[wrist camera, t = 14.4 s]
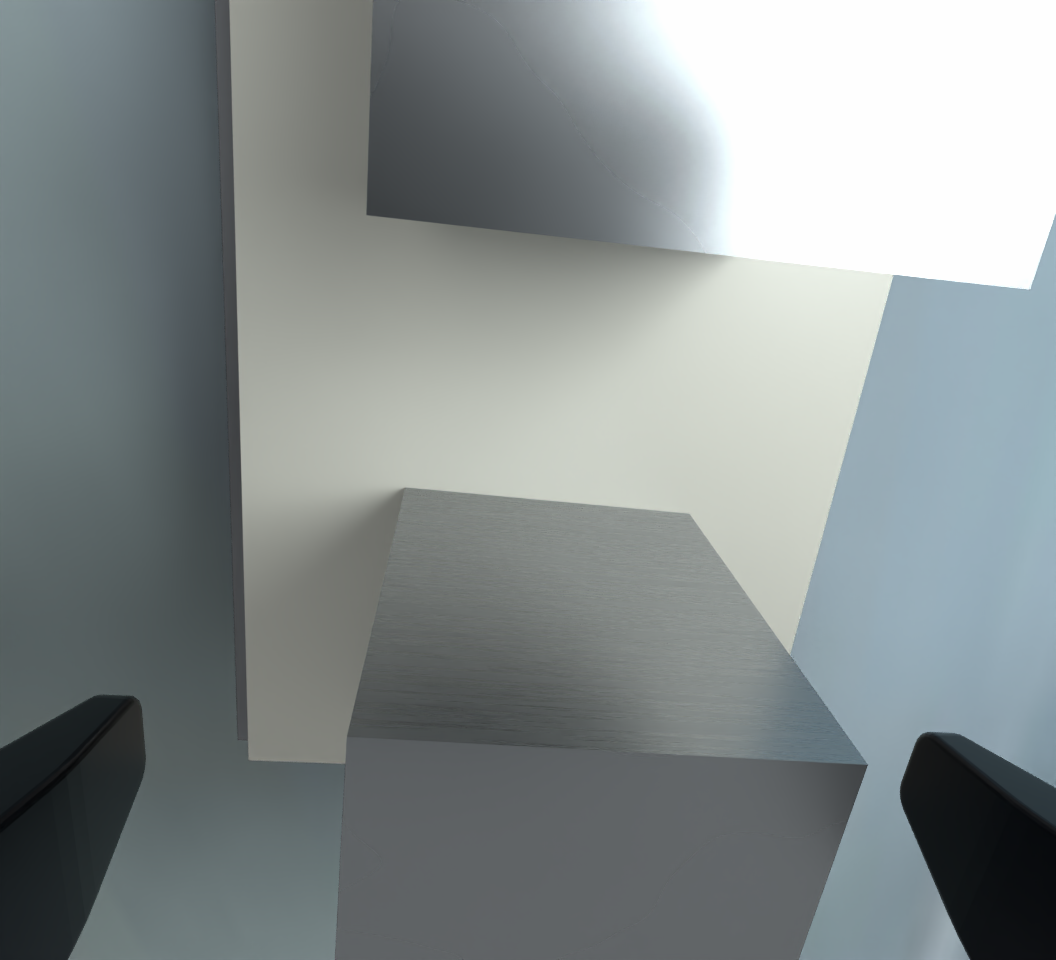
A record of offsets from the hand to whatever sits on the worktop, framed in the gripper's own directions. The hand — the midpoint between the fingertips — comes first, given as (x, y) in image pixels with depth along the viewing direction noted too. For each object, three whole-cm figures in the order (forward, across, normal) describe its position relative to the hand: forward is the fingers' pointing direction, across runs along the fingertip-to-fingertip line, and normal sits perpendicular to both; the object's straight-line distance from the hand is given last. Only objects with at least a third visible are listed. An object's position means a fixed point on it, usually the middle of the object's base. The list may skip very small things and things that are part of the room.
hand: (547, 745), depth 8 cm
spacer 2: (+3, 0, 0) cm, 3 cm away
